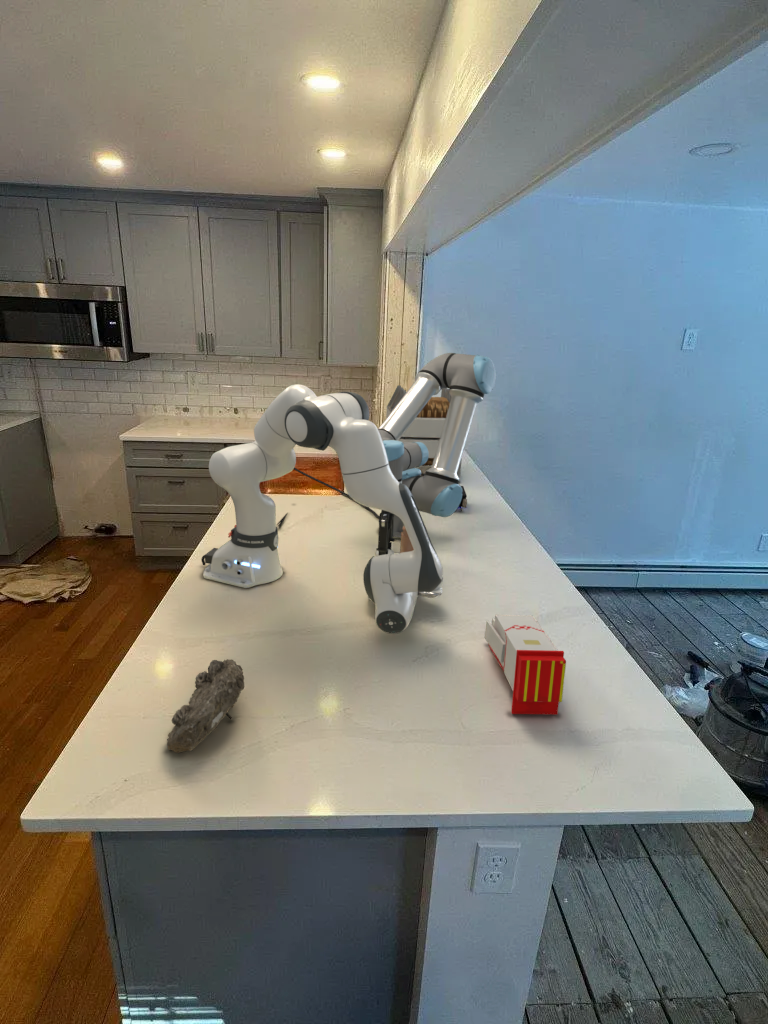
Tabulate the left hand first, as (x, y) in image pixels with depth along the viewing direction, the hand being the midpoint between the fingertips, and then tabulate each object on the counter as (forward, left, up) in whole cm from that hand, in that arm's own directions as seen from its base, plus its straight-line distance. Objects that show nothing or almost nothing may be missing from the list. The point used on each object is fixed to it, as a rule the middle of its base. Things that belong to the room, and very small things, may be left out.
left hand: (408, 568), depth 158 cm
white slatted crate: (-11, +122, -7) cm, 123 cm away
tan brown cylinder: (0, -1, -7) cm, 7 cm away
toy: (+29, -33, -7) cm, 44 cm away
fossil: (-29, -61, -7) cm, 68 cm away
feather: (-52, +47, -7) cm, 70 cm away
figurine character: (+10, +76, -7) cm, 77 cm away
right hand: (-9, +14, -6) cm, 18 cm away
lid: (-9, +14, -2) cm, 17 cm away
